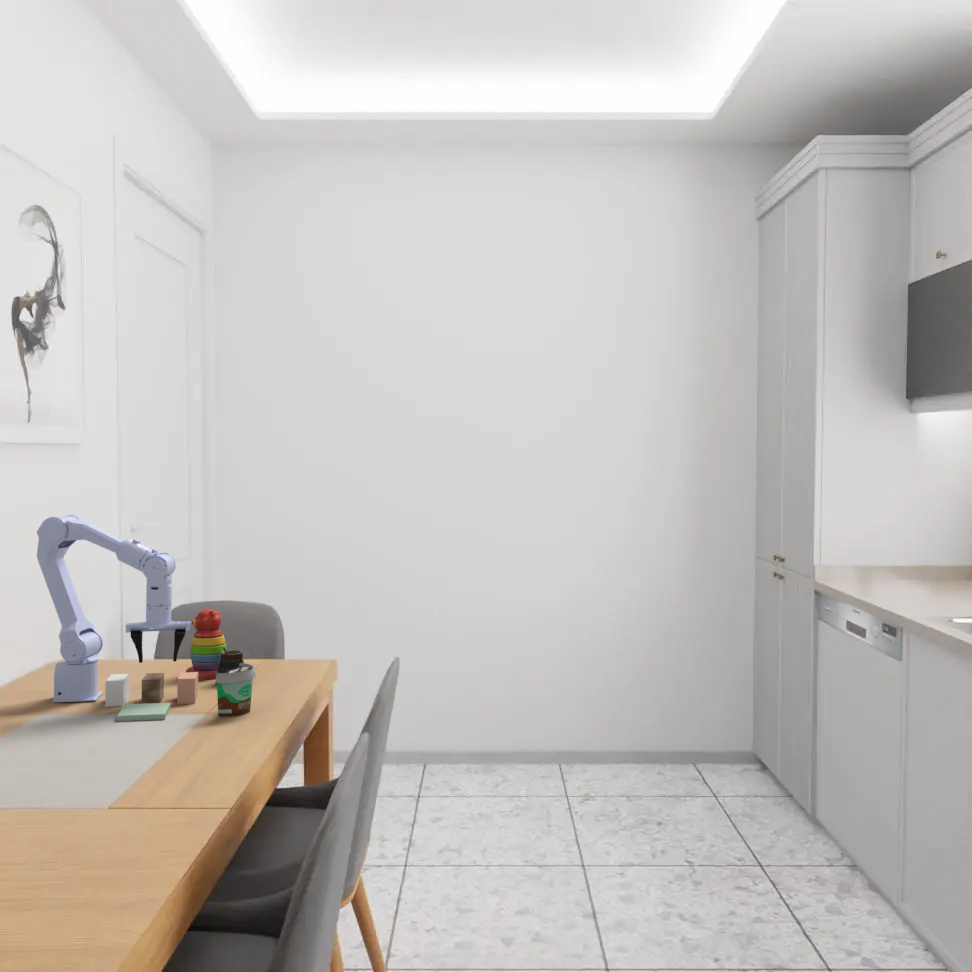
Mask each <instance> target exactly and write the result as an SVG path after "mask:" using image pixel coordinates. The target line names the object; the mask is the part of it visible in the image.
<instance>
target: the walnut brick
mask: <svg viewBox="0 0 972 972" xmlns="http://www.w3.org/2000/svg"><path fill="white" fill-rule="evenodd" d="M164 695H165V672H155V673H154V672H151V673H150V672H149V673H146V674H145V675H144V677H143V678H142V679H141V704H145V703H162V701H163V699H165V698H164Z"/></svg>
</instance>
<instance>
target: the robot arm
mask: <svg viewBox="0 0 972 972" xmlns="http://www.w3.org/2000/svg"><path fill="white" fill-rule="evenodd" d="M36 534H37V537H38V542H37V551H36V559H37V562H38V565H39V567H40V569H41V572H42V576H43V577H44V578H43V579H44V581H45V584H46V587H47V589H48V591H49V592H48V593H49V594H50V597H51V600H52V603H53V605H54V608H55V611H56V613H57V617H58V619H59V622H60V625H61V629H60V632H59V635H58V638H59V641H60V647H59V648H60V649H59V650H60V652H59V653H60V655H61V658H63V660H64V661H60V662H56V664H55V667H54V673H53V701H52V702H53V703H72V702H73V703H76V702H95V701H97V700H98V699H99V698H100V696H101V695H102V694H103V691H100V690H99V656H98V655H99V653H100V652H101V651H102V649H103V647H104V640H103V637H102V635H101V634H100V633H99V632H98V631H97V630H96V628H95V627H94V624H93V623H92V622H91V621H90V620H88V619H87V618H86V616H85V614H84V613H85V612H84V611H83V608H82V604H81V603H80V599H79V597H78V594H77V592H76V591H77V590H76V589H75V587H74V584H73V581H72V578H71V575H70V572H69V570H68V567H67V564H66V561H65V559H64V558H65V555H66V553H67V552H68V550H69V549H70V547H72V545H73V544H75V543H76V542H77V541H82V540H83V541H87V542H89V543H92V544H94V545H96V546H98V547H101V548H103V549H105V550H107V551H110V552H113V553H115V555H116V559H117V560H118V561H119V562H120V563H121V562H122V563H123V564H126V565H127V566H129V567H131V568H134V569H136V570H137V571H139V572H142V574H143V575H144V576H145V578H146V589H145V590H146V595H145V596H146V598H145V599H146V600H145V601H146V603H145V621H139V622H138V621H137V622H127V623H125V633H127V634H128V633H130V638H131V640H132V642H133V645H134V647H135V650H136V652H137V657H138V663H139V664H142V663H143V661H144V660H143V658H144V655H143V635H144V634H143V633H144V632H168V631H169V632H170V631H171V632H172V631H173V632H174V633H173V634H174V636H173V637H174V643H173V644H174V645H173V646H174V647H173V648H174V649H173V657H172V662H173V663H174V662H177V658H178V653H179V650H180V647H181V645H182V643H183V640H184V638H185V635H186V631H187V632H188V631H191V620H190V621H181V620H179V621H177V620H172V598H173V597H172V596H173V595H172V593H173V592H172V590H173V585H172V583H173V582H172V581H173V579H172V577H173V576H172V574H173V573H174V572H175V570H176V566H177V565H176V564H177V563H176V561H175V559H174V557H172V555H170V554H169V553H168V552H159V550H158V549H157V548H151V547H147V546H146V545H145V544H142V543H141V540H139V538H134V539H131V538H128V539H125V540H122V539H121V538H119V537H117V536H115V535H113V534H112V533H109V532H108V531H106V530H104V529H102V528H100V527H99V526H97V525H95V524H94V523H92V522H90V521H88V520H86V519H84V518H80V517H78V516H77V515H74V514H69V515H64V516H50V517H48V518H46V519H44V521H42V523H41V524H40V526H39V527H38V529H37V530H36Z"/></svg>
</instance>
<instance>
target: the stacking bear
mask: <svg viewBox="0 0 972 972" xmlns="http://www.w3.org/2000/svg"><path fill="white" fill-rule="evenodd" d="M191 623H192V626H193V628H194V629H195V630H196V631H195V632H194V634H193V637H192V639H191V644H190V651H189V652H190V654H189V655H190V660H191V665H192V666H189V667H187V668H186V670H185V672H198V682H199V681H207V680H213V679H214V680H216V676H217V669H218V666H219V663H220V660H221V652H223V651H224V649H223V648H225V649H226V650H228V649H227V643H226V638H225V635H224V634H223V632H222V630H220V628H221V624H222V617H221V614H220V613H219V612H218V611H217V610H215V609H209V608H207V607H206V608H205V609H204V610H203V609H202V610H200V611H199V612H198V614H197V615H196V616H195V617H194V618H193V620H192V622H191Z"/></svg>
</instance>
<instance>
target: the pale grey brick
mask: <svg viewBox="0 0 972 972" xmlns="http://www.w3.org/2000/svg"><path fill="white" fill-rule="evenodd" d="M104 688H105V690H104V691H105V693H104V694H105V695H104V696H105V700H104V701H105V702H104V703H105V704H104V705H105V707H124V705H125V704H127V702H128V701H129V699H130V673H118V674H117V673H116V674H115V673H114V674H113V673H112V674H110V675H109V677H108V678H107V679H106V680H105V687H104Z"/></svg>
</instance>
